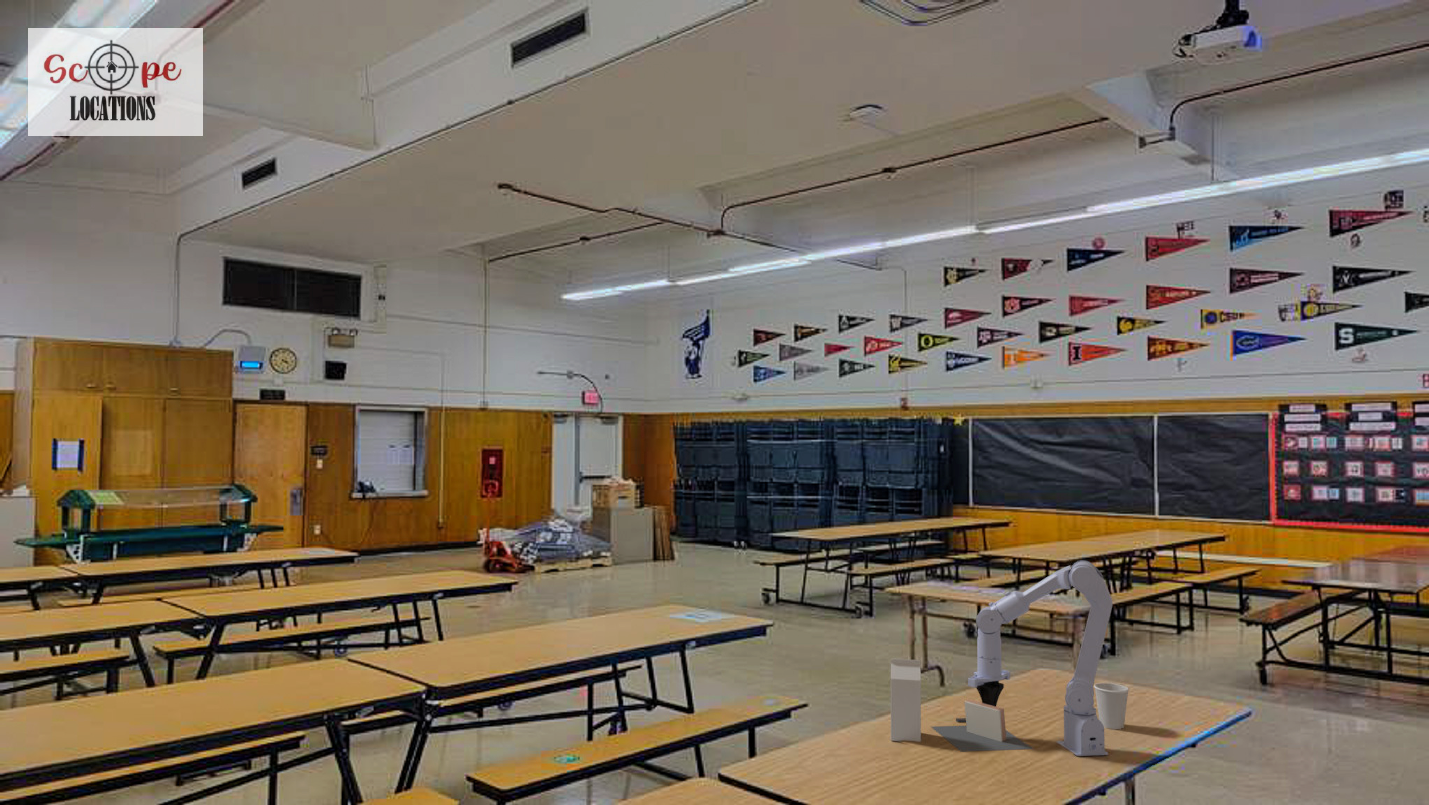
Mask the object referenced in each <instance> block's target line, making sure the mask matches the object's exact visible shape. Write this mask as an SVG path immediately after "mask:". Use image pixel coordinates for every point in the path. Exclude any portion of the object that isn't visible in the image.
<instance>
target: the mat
mask: <svg viewBox="0 0 1429 805" xmlns="http://www.w3.org/2000/svg"><path fill="white" fill-rule="evenodd" d="M931 729H933V730H934V731H935V732H936V733H938V734H939V735H940V736H942V737H943V738H944V739H945V740H947V741H948V742H949V743H950V744H951V745H952V746H953V747H955V748H956V749H957V750H958V751H960V753H961V752H989V751H1014V750H1015V751H1018V750H1020V751H1021V750H1034V748H1033V747H1032V746H1030V745H1029V744H1027V743H1026V742H1024V741H1023V740H1021V739H1020V738H1018V736H1015V735H1014V734H1013V733H1011V732H1009V730H1007V729H1006V740H1004V741H1002V742H1000V741H997V740H994V739H990V738H987V737H984V736H980V735H977V734H974V733H970V732H967V727H966V725H949V726H948V725H943V726H942V725H941V726H931Z"/></svg>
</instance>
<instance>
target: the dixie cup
mask: <svg viewBox="0 0 1429 805" xmlns="http://www.w3.org/2000/svg"><path fill="white" fill-rule="evenodd" d="M1093 689H1094V693H1095V697H1096V704H1097V706H1096V707H1097V712H1098V719H1099V720H1100V721H1101V722H1102V724H1103V726H1104V727H1105V728H1104V729H1108V728H1110V730H1116V729H1119V730H1122V729H1121V728H1123V729H1124V728H1125V722H1126V713H1127V712H1126V711H1127V706H1128V705H1127V704H1128V703H1127V702H1128V696H1129V691H1130V689H1129V687H1127V686H1125V685H1122V684H1118V683H1112V682H1099V683H1094V685H1093Z"/></svg>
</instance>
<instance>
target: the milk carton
mask: <svg viewBox="0 0 1429 805" xmlns="http://www.w3.org/2000/svg"><path fill="white" fill-rule="evenodd" d="M921 676H922V674H921V660H918V659H901V658H891V659H890V741H892V742H904V741H906V742H907V741H909V742H922V732H921V730H922V729H921V728H922V720H921V719H922V718H921V715H922V712H921V711H922V710H921V709H922V708H921V707H922V706H921V705H922V704H921V702H922V690H921V689H922V686H921V685H922V680H921Z"/></svg>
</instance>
